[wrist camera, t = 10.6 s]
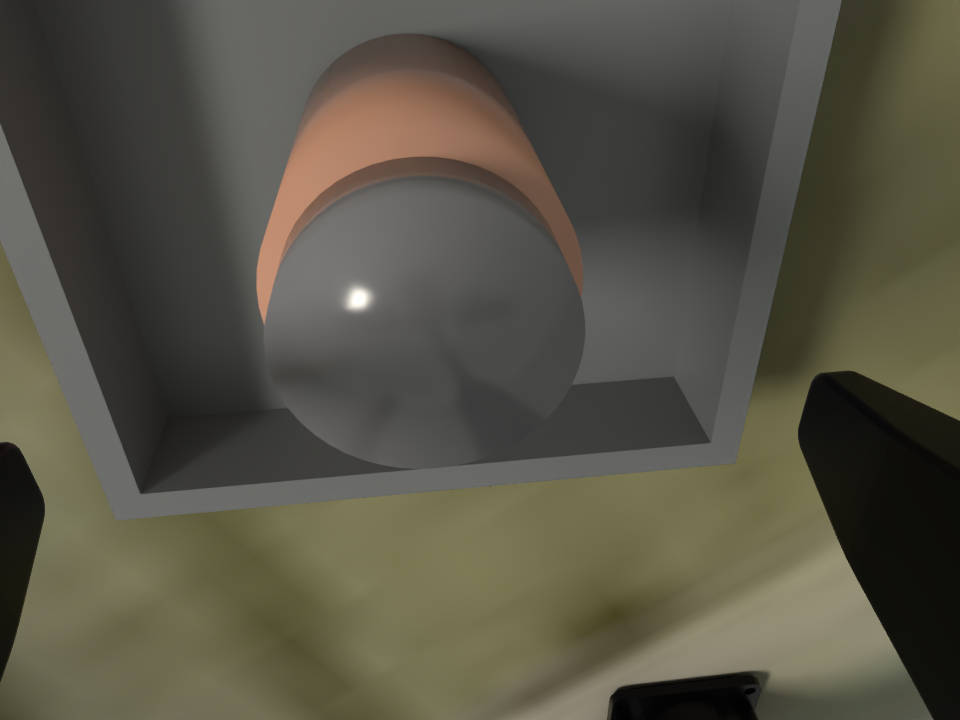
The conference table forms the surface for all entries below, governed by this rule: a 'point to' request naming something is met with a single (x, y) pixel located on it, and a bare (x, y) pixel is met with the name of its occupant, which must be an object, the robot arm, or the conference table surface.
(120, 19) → the tray
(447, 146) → the shaker
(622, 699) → the robot arm
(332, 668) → the conference table surface
